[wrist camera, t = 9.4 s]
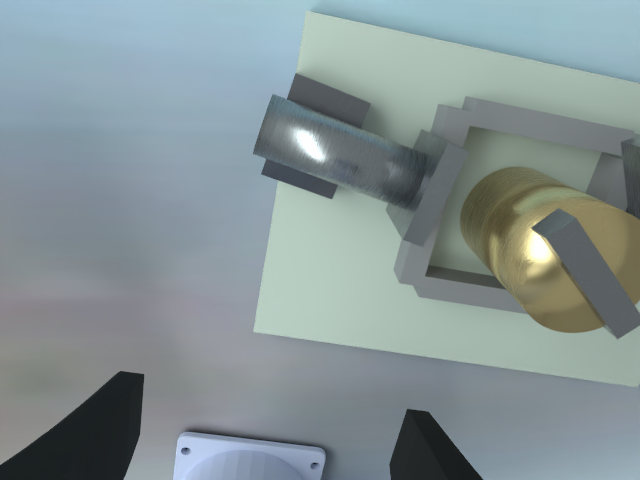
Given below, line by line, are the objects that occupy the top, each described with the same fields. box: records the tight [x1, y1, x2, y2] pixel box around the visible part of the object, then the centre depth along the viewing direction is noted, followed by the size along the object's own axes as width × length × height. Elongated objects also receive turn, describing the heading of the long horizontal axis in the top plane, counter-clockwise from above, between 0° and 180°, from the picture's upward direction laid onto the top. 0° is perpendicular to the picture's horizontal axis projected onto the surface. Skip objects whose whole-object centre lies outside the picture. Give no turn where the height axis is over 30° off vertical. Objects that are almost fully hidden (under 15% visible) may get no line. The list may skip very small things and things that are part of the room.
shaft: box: [253, 73, 469, 247], centre depth 18 cm, size 7×4×5 cm, turn 69°
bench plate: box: [253, 11, 640, 387], centre depth 20 cm, size 14×20×2 cm
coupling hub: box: [460, 167, 640, 340], centre depth 17 cm, size 5×4×7 cm
